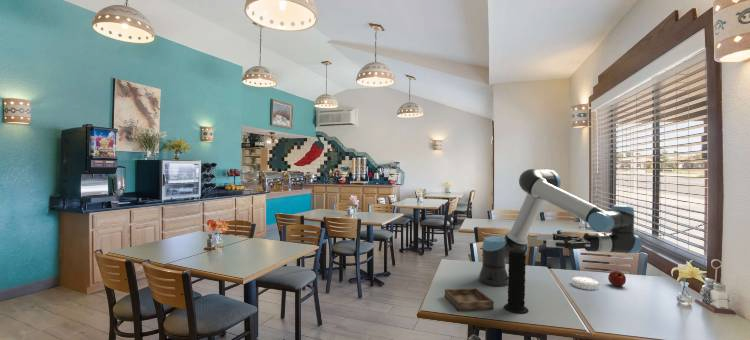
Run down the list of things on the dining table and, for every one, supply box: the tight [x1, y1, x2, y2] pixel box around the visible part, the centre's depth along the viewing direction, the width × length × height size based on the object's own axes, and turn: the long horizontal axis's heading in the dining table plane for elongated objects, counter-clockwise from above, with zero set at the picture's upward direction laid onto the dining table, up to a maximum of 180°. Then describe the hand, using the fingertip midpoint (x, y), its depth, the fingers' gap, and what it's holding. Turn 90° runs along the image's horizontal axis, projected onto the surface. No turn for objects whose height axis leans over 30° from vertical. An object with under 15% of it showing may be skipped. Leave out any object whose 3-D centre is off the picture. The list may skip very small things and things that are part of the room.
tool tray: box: [444, 287, 494, 312], centre depth 155 cm, size 16×16×4 cm
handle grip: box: [503, 248, 530, 315], centre depth 149 cm, size 10×26×10 cm
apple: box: [607, 270, 627, 287], centre depth 180 cm, size 7×8×8 cm
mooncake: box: [571, 276, 600, 291], centre depth 179 cm, size 12×12×4 cm
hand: (541, 240), depth 147 cm, fingers open, 13 cm apart
